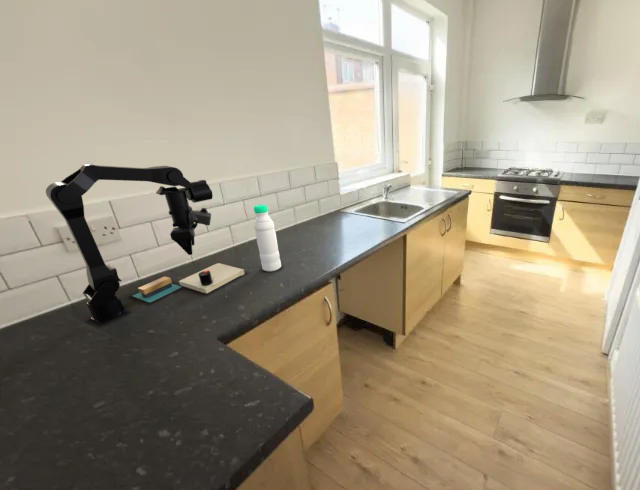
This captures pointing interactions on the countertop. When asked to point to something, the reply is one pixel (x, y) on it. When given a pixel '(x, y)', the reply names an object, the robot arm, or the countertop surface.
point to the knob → (205, 278)
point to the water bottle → (266, 239)
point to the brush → (155, 287)
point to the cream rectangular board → (213, 277)
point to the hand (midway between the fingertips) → (191, 249)
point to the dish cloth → (158, 295)
